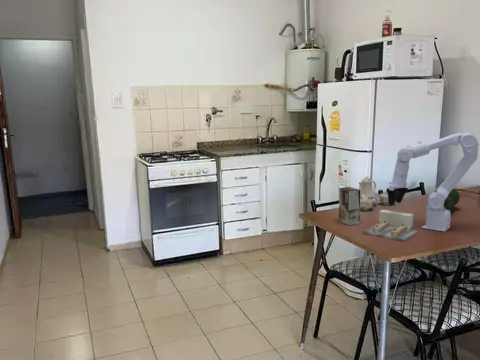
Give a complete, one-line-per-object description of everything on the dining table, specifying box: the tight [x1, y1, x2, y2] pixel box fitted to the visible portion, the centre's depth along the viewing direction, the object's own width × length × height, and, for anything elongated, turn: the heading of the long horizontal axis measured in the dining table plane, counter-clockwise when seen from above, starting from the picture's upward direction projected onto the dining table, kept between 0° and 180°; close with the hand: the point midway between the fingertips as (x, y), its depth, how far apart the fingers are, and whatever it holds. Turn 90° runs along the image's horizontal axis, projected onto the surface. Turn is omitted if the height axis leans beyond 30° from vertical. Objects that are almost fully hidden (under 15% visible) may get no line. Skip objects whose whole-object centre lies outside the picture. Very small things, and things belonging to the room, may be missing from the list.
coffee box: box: [338, 186, 361, 226], centre depth 203 cm, size 9×6×16 cm
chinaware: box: [358, 175, 390, 212], centre depth 231 cm, size 28×17×17 cm, turn 129°
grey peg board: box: [362, 219, 418, 243], centre depth 185 cm, size 18×14×4 cm
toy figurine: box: [440, 178, 461, 215], centre depth 215 cm, size 9×19×25 cm
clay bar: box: [378, 209, 414, 230], centre depth 197 cm, size 14×4×6 cm, turn 47°
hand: (394, 203), depth 196 cm, fingers open, 7 cm apart
